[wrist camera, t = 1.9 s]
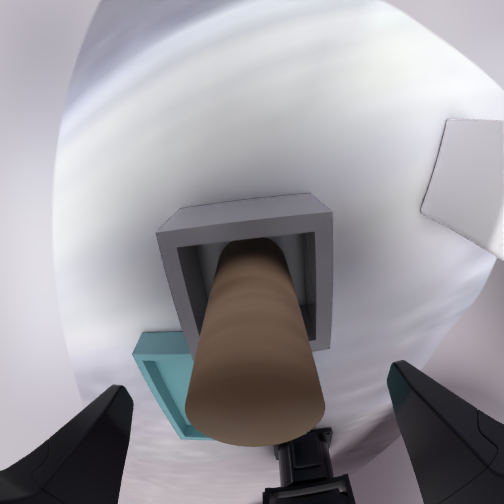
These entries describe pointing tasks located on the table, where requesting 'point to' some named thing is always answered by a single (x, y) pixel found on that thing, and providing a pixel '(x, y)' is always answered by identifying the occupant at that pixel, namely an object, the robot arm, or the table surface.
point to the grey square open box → (247, 227)
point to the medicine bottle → (470, 183)
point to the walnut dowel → (253, 353)
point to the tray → (168, 376)
